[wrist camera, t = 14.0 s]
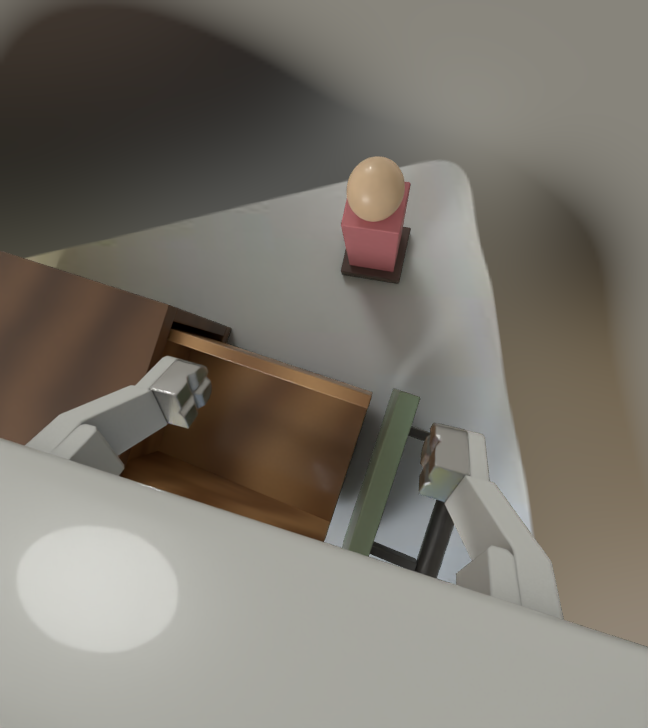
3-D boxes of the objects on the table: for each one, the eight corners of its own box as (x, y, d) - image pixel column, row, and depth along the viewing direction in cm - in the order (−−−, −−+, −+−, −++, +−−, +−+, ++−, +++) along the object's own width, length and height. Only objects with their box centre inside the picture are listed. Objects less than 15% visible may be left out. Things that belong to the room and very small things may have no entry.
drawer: (469, 413, 24) (507, 425, 17) (417, 573, 24) (434, 648, 17) (198, 324, 28) (141, 306, 21) (153, 462, 28) (82, 488, 21)
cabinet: (231, 328, 29) (169, 304, 20) (183, 476, 28) (99, 517, 20) (53, 270, 32) (-68, 229, 23) (9, 403, 32) (-128, 411, 23)
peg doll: (398, 284, 26) (413, 220, 16) (341, 274, 27) (320, 207, 17) (409, 232, 26) (432, 134, 16) (352, 224, 27) (338, 126, 17)
